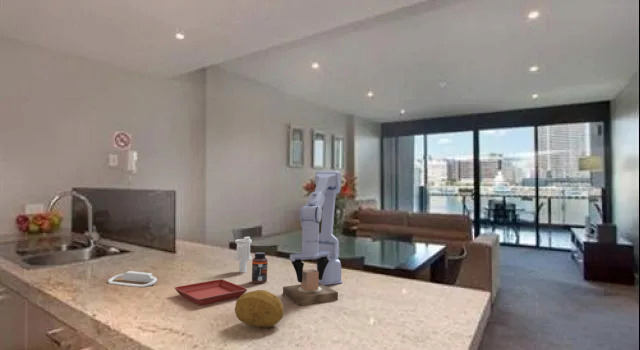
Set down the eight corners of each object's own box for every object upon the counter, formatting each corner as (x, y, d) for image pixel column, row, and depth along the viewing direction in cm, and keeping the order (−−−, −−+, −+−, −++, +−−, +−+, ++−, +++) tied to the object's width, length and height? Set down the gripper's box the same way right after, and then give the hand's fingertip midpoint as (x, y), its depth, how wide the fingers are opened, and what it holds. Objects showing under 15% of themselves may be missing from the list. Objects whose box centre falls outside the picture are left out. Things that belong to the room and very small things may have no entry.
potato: (275, 298, 93) (286, 285, 102) (227, 297, 96) (242, 284, 105) (277, 335, 93) (288, 318, 102) (229, 332, 96) (244, 316, 105)
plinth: (318, 289, 135) (318, 281, 135) (337, 299, 123) (337, 291, 123) (282, 293, 128) (282, 286, 128) (299, 305, 116) (300, 296, 116)
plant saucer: (221, 287, 137) (221, 278, 137) (248, 298, 124) (248, 288, 124) (173, 297, 124) (173, 287, 125) (197, 310, 112) (197, 299, 112)
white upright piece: (254, 271, 161) (255, 237, 162) (243, 274, 155) (243, 239, 156) (242, 269, 165) (243, 235, 166) (231, 272, 159) (231, 237, 160)
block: (312, 286, 129) (312, 268, 129) (318, 289, 125) (318, 271, 125) (300, 287, 127) (301, 270, 127) (306, 291, 123) (306, 272, 123)
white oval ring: (104, 287, 140) (102, 278, 139) (120, 277, 147) (119, 268, 146) (147, 292, 134) (146, 283, 133) (162, 281, 141) (161, 272, 141)
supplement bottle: (264, 284, 140) (264, 254, 141) (249, 283, 142) (249, 253, 142) (269, 280, 146) (269, 251, 147) (255, 279, 147) (255, 251, 148)
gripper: (296, 243, 119) (295, 285, 119) (334, 240, 126) (334, 280, 125) (287, 240, 125) (286, 280, 125) (324, 238, 132) (324, 276, 132)
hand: (309, 280), depth 126 cm, fingers open, 7 cm apart
